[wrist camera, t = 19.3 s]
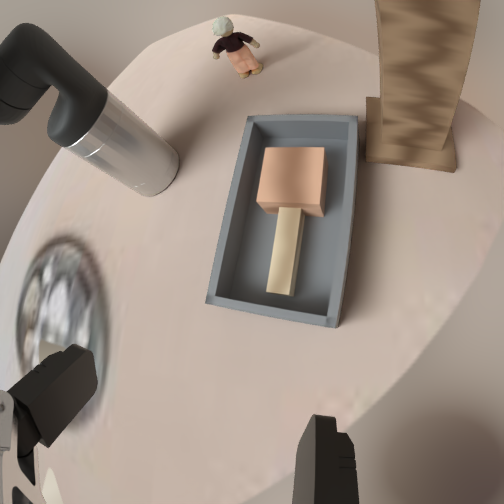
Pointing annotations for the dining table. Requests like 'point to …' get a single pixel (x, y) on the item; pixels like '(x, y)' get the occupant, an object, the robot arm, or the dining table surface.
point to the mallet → (291, 205)
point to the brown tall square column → (419, 81)
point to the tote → (264, 225)
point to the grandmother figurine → (235, 47)
